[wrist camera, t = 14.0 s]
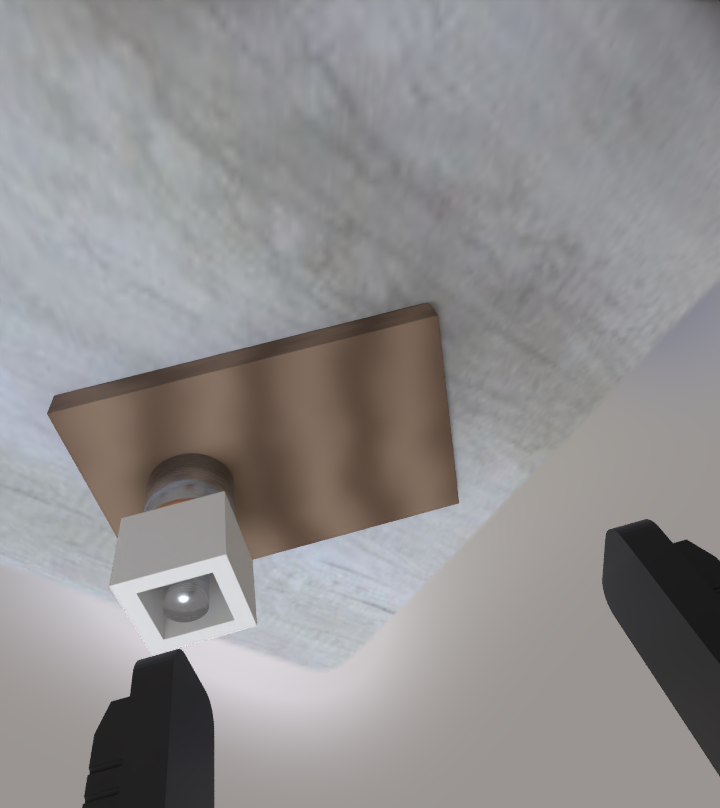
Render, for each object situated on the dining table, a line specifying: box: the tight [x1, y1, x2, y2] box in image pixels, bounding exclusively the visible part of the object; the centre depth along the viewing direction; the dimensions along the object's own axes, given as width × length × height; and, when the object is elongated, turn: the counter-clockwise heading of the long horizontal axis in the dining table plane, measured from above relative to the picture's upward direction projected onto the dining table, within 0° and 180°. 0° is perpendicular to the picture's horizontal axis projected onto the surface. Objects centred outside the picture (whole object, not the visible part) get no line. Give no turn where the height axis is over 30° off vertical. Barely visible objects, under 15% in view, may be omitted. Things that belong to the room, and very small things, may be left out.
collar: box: [109, 491, 257, 655], centre depth 35 cm, size 6×6×5 cm
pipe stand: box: [47, 303, 459, 622], centre depth 38 cm, size 24×16×12 cm, turn 100°
